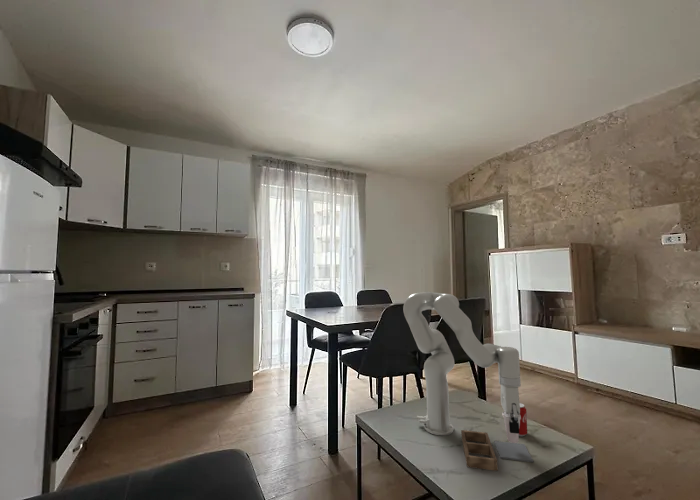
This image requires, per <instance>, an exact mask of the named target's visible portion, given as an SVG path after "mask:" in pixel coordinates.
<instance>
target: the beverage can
mask: <svg viewBox="0 0 700 500" xmlns="http://www.w3.org/2000/svg"><path fill="white" fill-rule="evenodd" d="M520 415H521V419H520V426H519V437H525V436H526V435H527V434H528V417H527V408H526V407H525V404H523V403H522V402H520Z"/></svg>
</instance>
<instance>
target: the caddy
mask: <svg viewBox="0 0 700 500" xmlns="http://www.w3.org/2000/svg"><path fill="white" fill-rule="evenodd" d="M460 435H461V443H462V448H463V452H464V457H465V458H464V460H465V463H466V467H467V468H473V469H480V470H487V471H488V470H489V471H496V472H498V469H499V468H498V459H497V457H496V453H495V451H494V448H493V444H492V443H491V439H490V437H489V434H488V432H486V431H482V432H481V431H474V430H467V429H466V430H465V429H461V432H460ZM476 442H477V443H476ZM470 454H472V455H470ZM477 455H483V456H477ZM485 456H489V457H485Z"/></svg>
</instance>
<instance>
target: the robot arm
mask: <svg viewBox="0 0 700 500" xmlns="http://www.w3.org/2000/svg"><path fill="white" fill-rule="evenodd" d="M402 308H403V315H404V318H405V320H406V322H407V324H408V326H409V328H410V331H411V334H412V336H413V338H414V341H415V343H416V346H417V348H418V350H419V351H420V352H421V353H422V354H431V355H430V356H428V358H426V360H424V361H425V362H424V364H423V372H424V378H425V386H426V387H425V390H426V393H425V394H426V415H424V416H421V415H420V416H419V415H416V421H418V422H419V424H423V429H424V430H425V431H426V432H427V433H428V434H429V433H430V434H432V435H435V436H449V435H452V434H453V432H454V426H453V424H452V423H451V422H450V398H449V397H450V396H449V383H448V379H447V375H448V373H449V372H451V371H452V370H453V369H454V367H455V358H454V355H453V353H452V351H451V349H450V346H449V345H448V342H447V340H446V339H445V336H444V335H443V333H442V332H441V331H439V330H438V329H435V328H431V326H430V325H429V323H428V321H427V319H426V317H425V316H424V315H423V313H422V312H423V311H427V310H431V311H436V313H437V314H438V315H439V316H440V317H441V318H442V320H443V321H444V322H445V323H446V324H447V325H448V327H450V329H451V330H452V331H453V332H454V334H455V336H456V339H457V341H458V343H459V345H460V346H461V348H462V349H463V351H464V352H465V353H466V355H467V356H468V357H469V358H470V359H471V361H473V362H474V363H475V365H477V366H479V367H481V368H484V369H485V368H489V367H491V366H493V365H494V364H496V363H497V367H498V384H499V385H500V404H501V407H502V410H503V412H504V411H505V413H506V414H508V413H509V417H510V421H509V429H510V433H517V434H519V420H518V415H519V414H520V403H521V402H520V391H519V388H520V387H521V383H522V382H521V367H520V365H521V364H520V363H521V362H520V352H519V350H518V348H515V347H512V346H501V345H497V344H494V343H485V344H483V343H482V342H481V341H480V340H479V339H478V338H477V337H476V334H475V333H474V331H473V326H472V321H471V319H470V318H469V316H468V315H467V314H466V313H464V311H463V310H462V309H461V308H460V302H459V299H458V298H457V296H455V295H453V294H451V293H442V292H432V291H421V292H416V293H412V294H410V295H409V296H408V297H407V298H406V299H405V301H404V303H403V307H402ZM511 411H513V413H511ZM511 415H513V417H512V416H511Z"/></svg>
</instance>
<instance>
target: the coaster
mask: <svg viewBox="0 0 700 500" xmlns="http://www.w3.org/2000/svg"><path fill="white" fill-rule="evenodd" d="M493 441H494V442H493V443H494V445H495V448H496V451H497V452H498V456H499V459H503V460H511V461H512V460H513V461H517V462H520V461H521V462H526V463H527V462H528V463H534V460H533V457H532V455H531V454H530V451H529V450H528V448H527V447H526V444H525V443H519V442H518V443H512V442H509V441H499V440H493Z"/></svg>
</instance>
